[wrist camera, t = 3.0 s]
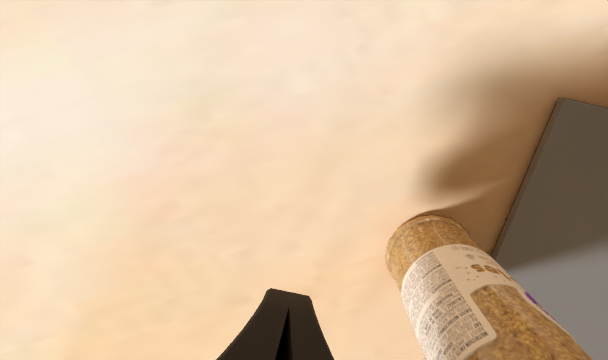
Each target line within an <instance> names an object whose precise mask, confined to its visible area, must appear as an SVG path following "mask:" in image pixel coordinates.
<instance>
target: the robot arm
mask: <svg viewBox="0 0 608 360" xmlns="http://www.w3.org/2000/svg"><path fill="white" fill-rule="evenodd" d="M216 360H334V358H333V356H332V354H331V352H330V349H329V347H328V345H327V343H326V340H325V338H324V336H323V333H322V331H321V328H320V325H319V323H318V320H317V317H316V314H315V311H314V308H313V304H312V301H311V299H310V297H309V296H306V295H301V294H296V293H291V292H287V291H282V290H277V289H272V288H271V289H269V290H267V291H266V294H265V296H264V298H263V300H262V302H261V304H260V305H259V307H258V309H257V310H256V312H255V313H254V315H253V316H252V317H251V319H250V320H249V321H248V323H247V324H246V325H245V327H244V328H243V330H242V331H241V332H240V333H239V335H238V336H237V337H236V338H235V339H234V340H233V342H232V343H231V344H230V345H229V346H228V347H227V349H226V350H225V351H224V352H223V353H222V354H221V355H220V356H219V357H218V358H217V359H216Z"/></svg>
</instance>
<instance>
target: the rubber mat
mask: <svg viewBox="0 0 608 360" xmlns="http://www.w3.org/2000/svg"><path fill="white" fill-rule="evenodd" d="M491 257H492V258H493V259H494V260H495V261H496V262H497V263H498V264H499V265H500V266H501V267H502V268H503V269H504V270H505V271H506V272H507V273H508V274H509V275H510V276H511V277H512V278H513V279H514V280H515V281H516V282H517V283H518V284H519V285H520V286H521V287H522V288H523V289H524V290H525V291H526V292H527V293H528V294H529V295H530V296H531V297H532V298H533V299H534V300H535V301H536V302H537V303H539V304H540V305H541V306H542V307H543V308H544V309H545V310H546V311H547V312H548V313H549V314H550V315H551V316H552V317H553V318H554V319H555V320H556V321H557V322H558V323H559V324H560V325H561V326H562V327H563V328H564V329H565V330H566V331H567V332H568V333H569V334H570V335H571V336H572V337H573V338H574V339H575V341H576V342H577V344H578V346H580V347H581V348H582V349H583V350H584V351H585V352H586V353H587V354H588V355H589V356H590V357H591V358H592V359H593V360H608V108H605V107H601V106H597V105H592V104H588V103H584V102H579V101H575V100H571V99H567V98H559V99H558V101H557V103H556V106H555V108H554V110H553V113H552V115H551V117H550V120H549V122H548V124H547V127H546V129H545V131H544V134H543V136H542V138H541V141H540V143H539V145H538V148H537V150H536V152H535V155H534V157H533V159H532V162H531V164H530V166H529V169H528V171H527V173H526V176H525V178H524V180H523V183H522V185H521V187H520V190H519V192H518V194H517V197H516V199H515V202H514V204H513V206H512V209H511V211H510V213H509V216H508V218H507V220H506V223H505V225H504V227H503V230H502V232H501V234H500V237H499V239H498V241H497V244H496V246H495V248H494V251H493V253H492V255H491Z"/></svg>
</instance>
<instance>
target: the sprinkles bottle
mask: <svg viewBox="0 0 608 360" xmlns="http://www.w3.org/2000/svg"><path fill="white" fill-rule="evenodd" d="M385 257H386V262H387V266H388V269H389V271H390V273H391V275H392V277H393V278H394V279H395V280H396V282H397V285H398V287H399V290H400V292H401V294H402V300H403V304H404V306H405V309H406V312H407V314H408V316H409V319H410V321H411V324H412V326H413V329H414V331H415V334H416V336H417V339H418V342H419V344H420V346H421V349H422V351H423V354H424V356H425V359H426V360H593V359H592V358H591V357H590V356H589V355H588V354H587V353H586V352H585V351H584V350H583V349H582V348H581V347H580V346H578V344H577V342H576V341H575V339H574V338H573V337H572V336H571V335H570V334H569V333H568V332H567V331H566V330H565V329H564V328H563V327H562V326H561V325H560V324H559V323H558V322H557V321H556V320H555V319H554V318H553V317H552V316H551V315H550V314H549V313H548V312H547V311H546V310H545V309H544V308H543V307H542V306H541V305H540V304H539V303H537V302H536V301H535V300H534V299H533V298H532V297H531V296H530V295H529V294H528V293H527V292H526V291H525V290H524V289H523V288H522V287H521V286H520V285H519V284H518V283H517V282H516V281H515V280H514V279H513V278H512V277H511V276H510V275H509V274H508V273H507V272H506V271H505V270H504V269H503V268H502V267H501V266H500V265H499V264H498V263H497V262H496V261H495V260H494V259H493V258H492V257H490V256H489V255H488V254H487V253H485V252H483V250H482V249H480V247H479V246H478V245H477V244H475V243H474V242H473V240H472V239H471V238H470V236H469V234H468V233H467V232H466V231H465V230H464V228H463V227H461V225H460V224H458V223H456V222H455V221H453V220H451V219H449V218H445V217H441V216H435V215H428V216H421V217H418V218H415V219H412V220H410V221H409V222H407V223H405V224H403V225H402V226H401V227H399V228H398V229H397V230H396V231H395V233H394V234H393V236H392V237H391V239H390V241H389V243H388V245H387V249H386V256H385Z"/></svg>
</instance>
